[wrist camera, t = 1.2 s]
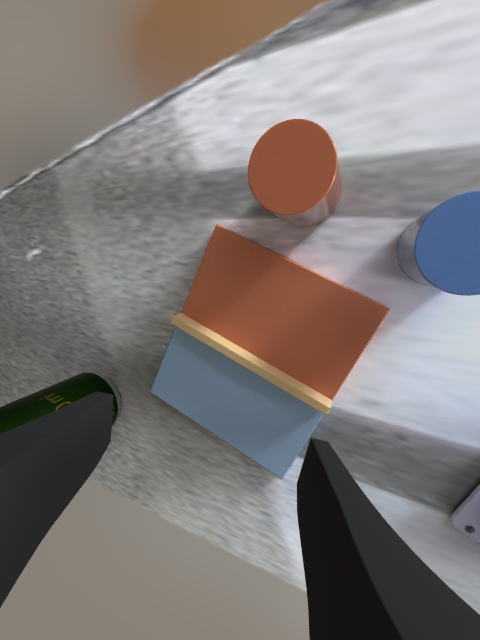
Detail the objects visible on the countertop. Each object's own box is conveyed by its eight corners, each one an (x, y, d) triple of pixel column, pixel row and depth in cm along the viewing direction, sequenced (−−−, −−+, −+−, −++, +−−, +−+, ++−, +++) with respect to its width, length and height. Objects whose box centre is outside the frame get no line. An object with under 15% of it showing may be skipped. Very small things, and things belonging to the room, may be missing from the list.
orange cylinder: (354, 171, 18) (355, 137, 13) (320, 237, 19) (309, 229, 14) (292, 147, 19) (270, 105, 14) (264, 211, 20) (234, 195, 15)
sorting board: (388, 308, 19) (392, 312, 17) (283, 474, 23) (278, 491, 21) (219, 225, 21) (208, 222, 20) (154, 389, 26) (140, 398, 24)
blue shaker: (498, 229, 16) (564, 216, 11) (450, 297, 18) (491, 313, 12) (422, 199, 17) (452, 173, 12) (382, 266, 18) (394, 268, 13)
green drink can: (71, 409, 29) (-102, 500, 18) (81, 359, 28) (-101, 426, 17) (116, 437, 28) (-39, 554, 17) (130, 386, 26) (-32, 479, 15)
